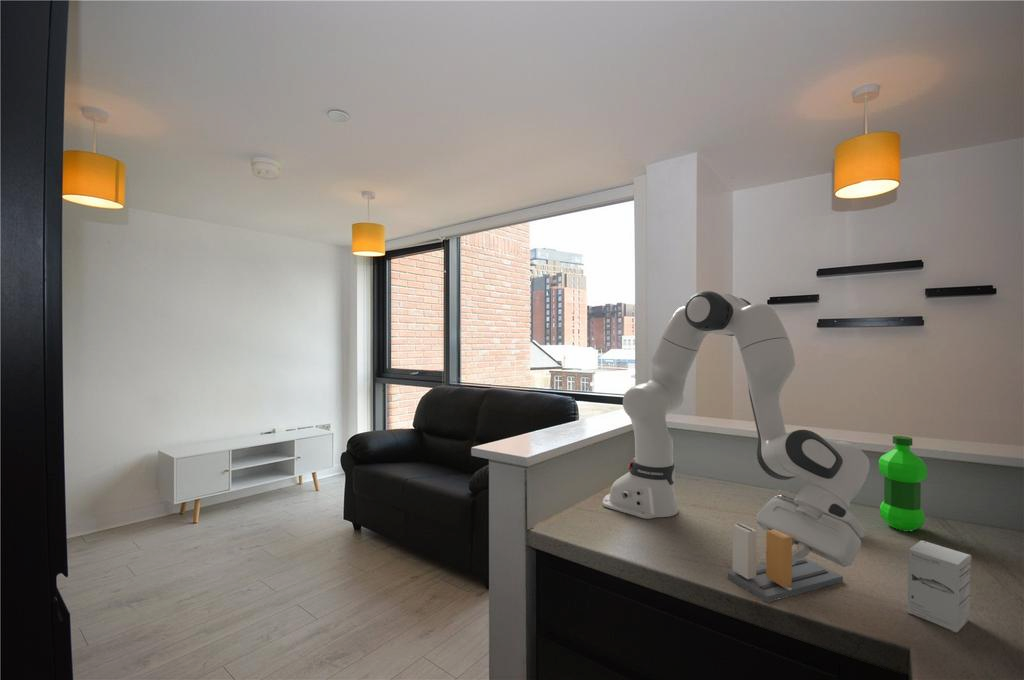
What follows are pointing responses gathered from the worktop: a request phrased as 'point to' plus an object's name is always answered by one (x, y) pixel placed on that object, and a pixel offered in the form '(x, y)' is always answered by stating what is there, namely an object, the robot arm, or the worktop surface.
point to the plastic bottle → (902, 486)
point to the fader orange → (779, 557)
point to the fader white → (744, 550)
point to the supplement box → (939, 585)
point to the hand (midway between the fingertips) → (785, 560)
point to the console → (803, 580)
